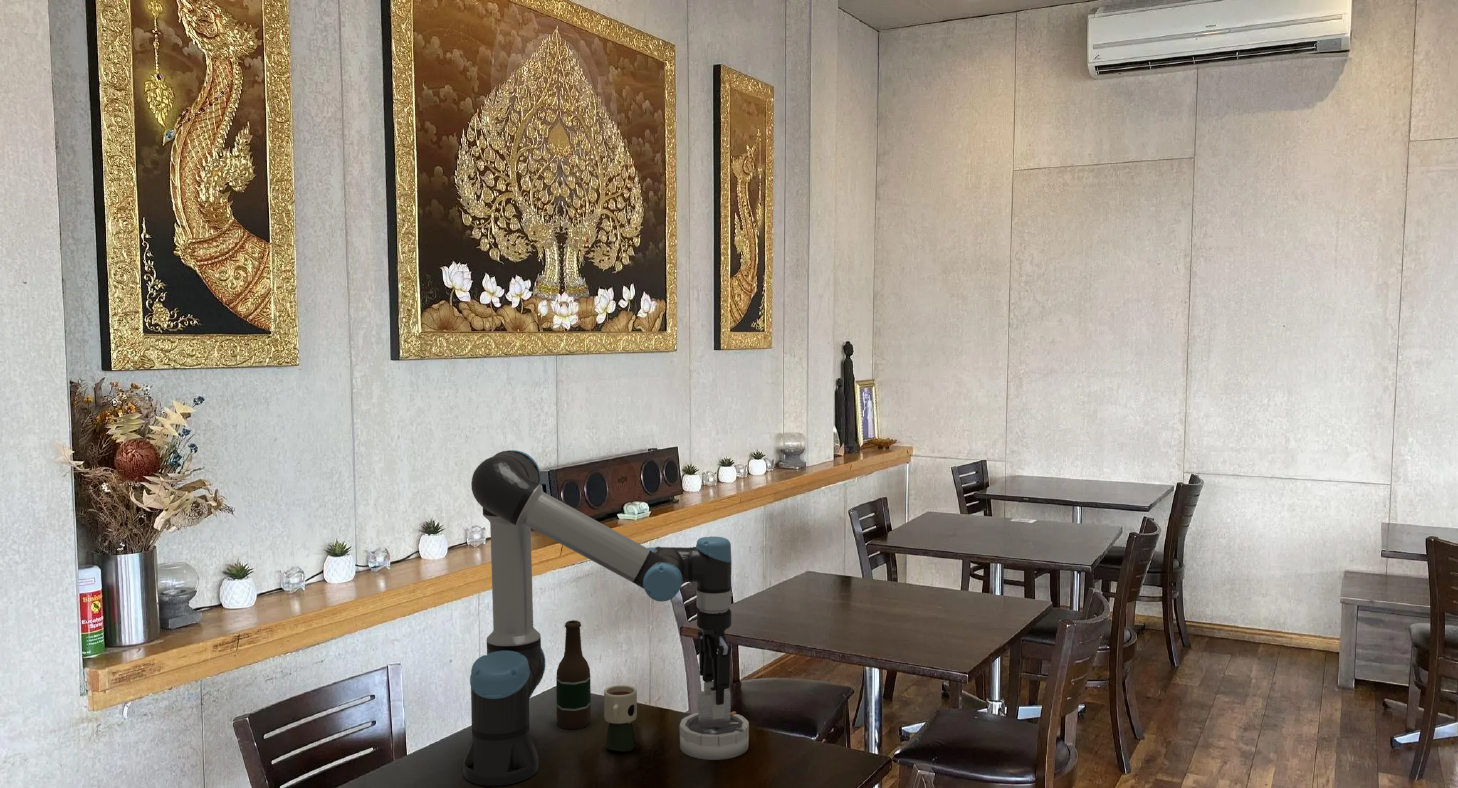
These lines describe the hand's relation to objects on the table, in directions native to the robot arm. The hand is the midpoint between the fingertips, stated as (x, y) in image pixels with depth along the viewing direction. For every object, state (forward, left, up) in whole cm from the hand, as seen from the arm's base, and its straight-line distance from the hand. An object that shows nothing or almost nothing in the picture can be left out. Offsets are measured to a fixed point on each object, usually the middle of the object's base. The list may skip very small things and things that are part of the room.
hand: (714, 714), depth 226 cm
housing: (0, 0, -7) cm, 7 cm away
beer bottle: (-34, +9, -7) cm, 36 cm away
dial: (0, 0, -4) cm, 4 cm away
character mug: (-20, -4, -7) cm, 22 cm away
